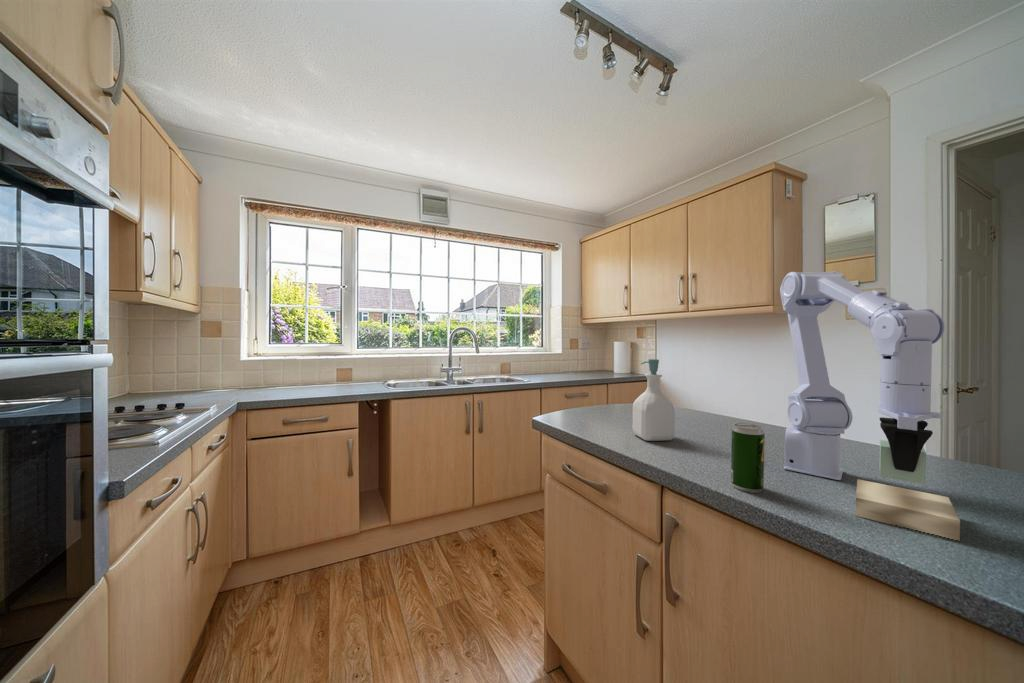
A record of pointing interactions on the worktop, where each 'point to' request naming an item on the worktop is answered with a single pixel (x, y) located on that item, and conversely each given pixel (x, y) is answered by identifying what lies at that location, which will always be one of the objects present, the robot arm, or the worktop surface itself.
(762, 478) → the green soda can
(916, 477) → the sage cube
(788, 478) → the worktop surface
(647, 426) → the soap bottle
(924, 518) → the birch plinth
